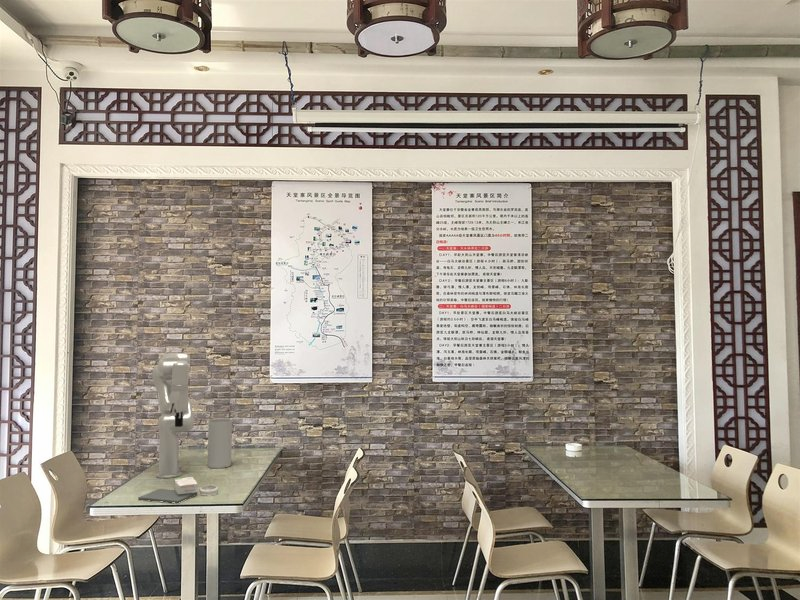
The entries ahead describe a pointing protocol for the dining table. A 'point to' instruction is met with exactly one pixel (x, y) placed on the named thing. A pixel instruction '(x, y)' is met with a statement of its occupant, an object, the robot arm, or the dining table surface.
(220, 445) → the cylinder vase
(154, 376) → the robot arm
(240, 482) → the dining table surface
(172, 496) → the rubber mat
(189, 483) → the ink box
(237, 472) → the dining table surface
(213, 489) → the white ashtray dish
